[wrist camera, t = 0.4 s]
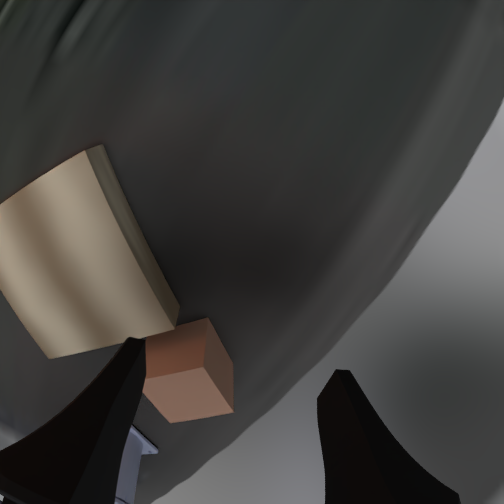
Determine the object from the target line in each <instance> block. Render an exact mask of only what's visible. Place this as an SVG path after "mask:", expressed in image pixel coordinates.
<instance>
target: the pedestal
mask: <svg viewBox="0 0 504 504" xmlns="http://www.w3.org/2000/svg"><path fill="white" fill-rule="evenodd" d="M0 289H1V291H2V293H3V294H4V296H5V297H6V299H7V301H8V302H9V304H10V305H11V307H12V308H13V310H14V311H15V313H16V314H17V316H18V317H19V319H20V320H21V322H22V323H23V325H24V326H25V327H26V329H27V330H28V332H29V333H30V334H31V336H32V337H33V339H34V340H35V341H36V343H37V344H38V345H39V347H40V348H41V349H42V350H43V352H44V353H45V354H46V356H47V357H48V358H49V359H53V358H57V357H62V356H67V355H71V354H76V353H80V352H85V351H89V350H94V349H98V348H102V347H106V346H111V345H115V344H119V343H123V342H125V340H126V339H127V338H128V337H133V338H138V339H139V338H143V337H147V336H151V335H155V334H159V333H163V332H166V331H170V330H174V329H175V327H176V322H177V318H178V314H179V309H180V305H179V303H178V302H177V300H176V298H175V296H174V294H173V292H172V291H171V289H170V287H169V285H168V283H167V281H166V279H165V277H164V275H163V273H162V272H161V270H160V268H159V266H158V264H157V262H156V260H155V258H154V256H153V254H152V252H151V250H150V248H149V246H148V244H147V242H146V240H145V238H144V236H143V234H142V232H141V229H140V227H139V225H138V223H137V221H136V219H135V217H134V215H133V213H132V210H131V208H130V206H129V204H128V202H127V199H126V197H125V195H124V193H123V191H122V188H121V186H120V184H119V181H118V179H117V177H116V175H115V172H114V170H113V168H112V165H111V163H110V160H109V158H108V156H107V153H106V151H105V148H104V146H103V144H101V145H98V146H95V147H93V148H90V149H87V150H84V151H83V152H81V153H79V154H77V155H76V156H74V157H72V158H70V159H69V160H67V161H65V162H64V163H62V164H60V165H59V166H57V167H55V168H54V169H52V170H50V171H49V172H47V173H46V174H44V175H43V176H41V177H39V178H38V179H36V180H35V181H33V182H32V183H30V184H29V185H27V186H26V187H24V188H23V189H21V190H20V191H19V192H17V193H16V194H14V195H13V196H11V197H10V198H9V199H7V200H6V201H5V202H3V203H2V204H0Z"/></svg>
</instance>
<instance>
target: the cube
mask: <svg viewBox="0 0 504 504" xmlns="http://www.w3.org/2000/svg"><path fill="white" fill-rule="evenodd" d="M142 392H143V393H144V394H145V395H146V397H147V398H148V399H149V400H150V401H151V402H152V404H153V405H154V406H155V407H156V408H157V409H158V410H159V411H160V413H161V414H162V415H163V416H164V417H165V418H166V419H167V420H168V421H169V422H170V423H174V422H182V421H188V420H195V419H201V418H207V417H212V416H218V415H223V414H228V413H233V412H234V393H233V362H232V361H231V359H230V357H229V355H228V353H227V351H226V350H225V348H224V346H223V344H222V342H221V340H220V339H219V337H218V335H217V333H216V331H215V329H214V327H213V325H212V324H211V322H210V320H209V318H208V317H207V318H204V319H200V320H196V321H193V322H189V323H186V324H182V325H178V326H176V327H175V329H174V330H170V331H166V332H163V333H159V334H155V335H151V336H147V339H146V378H145V382H144V387H143V391H142Z"/></svg>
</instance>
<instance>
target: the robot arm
mask: <svg viewBox="0 0 504 504" xmlns="http://www.w3.org/2000/svg"><path fill="white" fill-rule="evenodd" d="M145 378H146V340H142V339H138V338H133V337H128V338H127V339H126V340H125V342H124V343H123V344H122V346H121V347H120V348H119V350H118V351H117V352H116V354H115V355H114V356H113V358H112V359H111V360H110V361H109V363H108V364H107V365H106V366H105V367H104V368H103V370H102V371H101V372H100V373H99V374H98V375H97V377H96V378H95V379H94V380H93V381H92V382H91V383H90V384H89V385H88V386H87V387H86V388H85V389H84V390H83V391H82V392H81V393H80V394H79V395H78V396H77V397H76V398H75V399H74V400H73V401H72V402H71V403H70V404H69V405H68V406H67V407H65V408H64V409H63V410H62V411H61V412H60V413H58V414H57V415H56V416H55V417H53V418H52V419H51V420H49V421H48V422H47V423H46V424H44V425H43V426H41V427H40V428H38V429H37V430H35V431H34V432H32V433H31V434H29V435H28V436H26V437H25V438H23V439H21V440H20V441H18V442H16V443H14V444H12V445H10V446H9V447H7V448H5V449H3V450H1V451H0V494H1V495H3V496H4V498H3V501H1V500H0V504H133V502H134V496H135V489H136V483H137V477H138V471H139V466H140V460H141V455H142V454H157V453H158V449H157V448H156V447H155V446H154V445H153V444H151V443H150V442H149V441H148V440H147V439H146V438H145V437H144V436H143V435H142V434H141V433H140V432H139V431H137V430H136V429H135V428H134V427H133V426H132V422H133V420H134V417H135V414H136V411H137V408H138V405H139V402H140V399H141V395H142V391H143V387H144V382H145ZM317 418H318V428H319V434H320V441H321V447H322V454H323V461H324V468H325V504H461V502H460V498H459V495H458V493H456V492H455V491H453V490H452V489H450V488H449V487H447V486H445V485H444V484H442V483H441V482H440V481H438V480H437V479H436V478H435V477H433V476H432V475H431V474H429V473H428V472H427V471H426V470H425V469H423V467H422V466H420V465H419V464H418V463H417V462H416V461H415V460H414V459H413V458H412V457H411V456H410V455H409V454H408V453H407V451H405V449H404V448H403V447H402V446H401V445H400V444H399V442H398V441H397V440H396V439H395V438H394V436H393V435H392V434H391V432H390V431H389V430H388V428H387V427H386V426H385V425H384V423H383V422H382V420H381V419H380V417H379V416H378V414H377V413H376V411H375V410H374V408H373V407H372V405H371V404H370V402H369V400H368V399H367V397H366V396H365V394H364V393H363V391H362V389H361V388H360V386H359V384H358V383H357V381H356V379H355V378H354V376H353V375H352V373H351V372H350V370H338V369H336V370H335V371H334V373H333V375H332V376H331V378H330V379H329V381H328V383H327V384H326V386H325V387H324V389H323V390H322V392H321V393H320V395H319V396H318V398H317Z"/></svg>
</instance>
